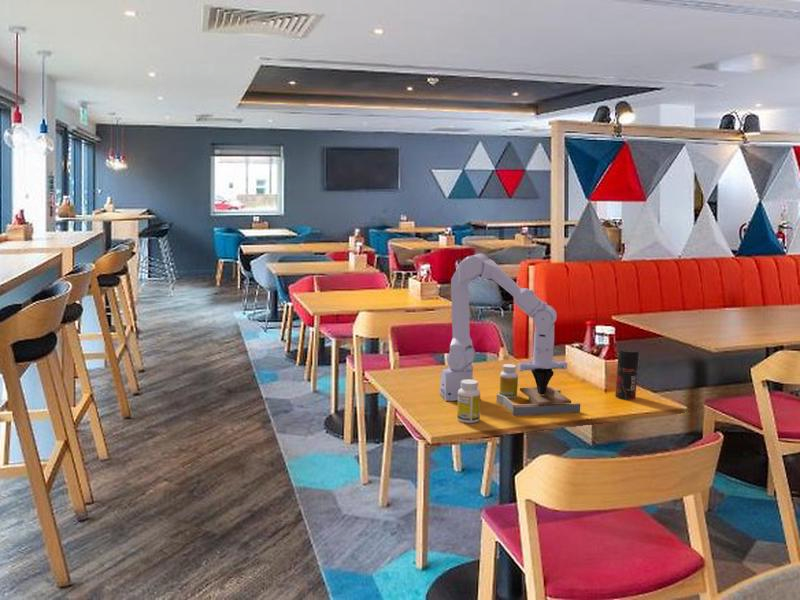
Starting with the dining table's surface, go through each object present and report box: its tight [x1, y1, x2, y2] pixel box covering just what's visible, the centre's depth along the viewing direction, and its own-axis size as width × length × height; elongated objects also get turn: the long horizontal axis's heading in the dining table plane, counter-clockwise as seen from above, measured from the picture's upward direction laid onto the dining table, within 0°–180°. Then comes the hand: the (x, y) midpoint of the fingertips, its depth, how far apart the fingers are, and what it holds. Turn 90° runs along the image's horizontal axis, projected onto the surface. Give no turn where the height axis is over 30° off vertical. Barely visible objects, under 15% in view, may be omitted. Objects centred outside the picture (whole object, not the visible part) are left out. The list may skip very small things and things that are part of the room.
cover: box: [519, 385, 572, 405], centre depth 211 cm, size 10×14×3 cm
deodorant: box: [614, 347, 640, 401], centre depth 222 cm, size 6×6×15 cm
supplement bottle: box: [499, 363, 519, 399], centre depth 221 cm, size 5×5×10 cm
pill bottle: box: [457, 379, 481, 424], centre depth 198 cm, size 6×6×11 cm
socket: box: [496, 389, 581, 417], centre depth 212 cm, size 21×14×2 cm
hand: (541, 393), depth 210 cm, fingers closed
